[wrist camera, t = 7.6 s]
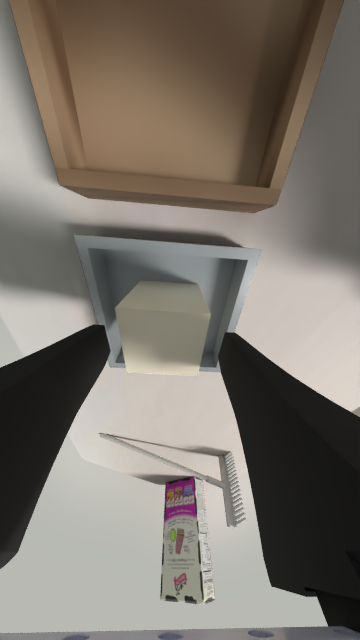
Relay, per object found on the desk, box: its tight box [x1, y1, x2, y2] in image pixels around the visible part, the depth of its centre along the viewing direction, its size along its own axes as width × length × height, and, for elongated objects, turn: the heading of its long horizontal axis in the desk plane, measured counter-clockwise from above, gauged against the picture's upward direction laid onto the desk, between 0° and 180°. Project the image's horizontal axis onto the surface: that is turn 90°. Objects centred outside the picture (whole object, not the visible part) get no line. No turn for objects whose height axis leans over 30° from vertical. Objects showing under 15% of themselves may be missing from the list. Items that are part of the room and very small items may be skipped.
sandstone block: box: [115, 280, 211, 376], centre depth 10 cm, size 4×4×5 cm
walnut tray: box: [9, 0, 344, 213], centre depth 5 cm, size 11×11×2 cm
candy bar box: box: [160, 477, 215, 604], centre depth 35 cm, size 11×5×16 cm, turn 128°
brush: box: [100, 433, 246, 528], centre depth 26 cm, size 4×28×9 cm, turn 64°
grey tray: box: [74, 235, 261, 372], centre depth 12 cm, size 11×11×2 cm
